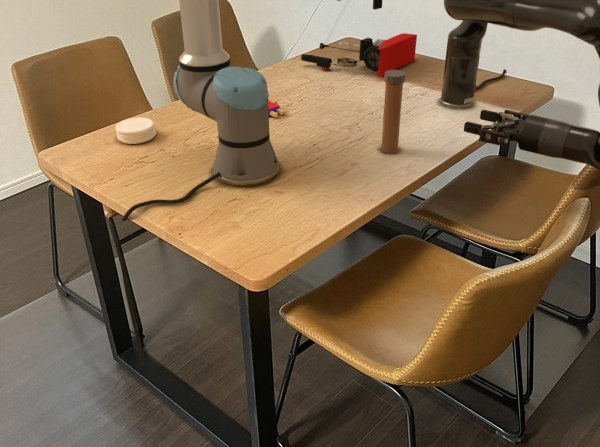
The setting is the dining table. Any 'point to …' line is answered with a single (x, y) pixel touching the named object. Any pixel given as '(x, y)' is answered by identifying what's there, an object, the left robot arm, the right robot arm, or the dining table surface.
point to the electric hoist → (375, 54)
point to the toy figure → (274, 109)
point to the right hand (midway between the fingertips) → (472, 120)
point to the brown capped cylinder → (391, 117)
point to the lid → (394, 77)
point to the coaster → (135, 130)
